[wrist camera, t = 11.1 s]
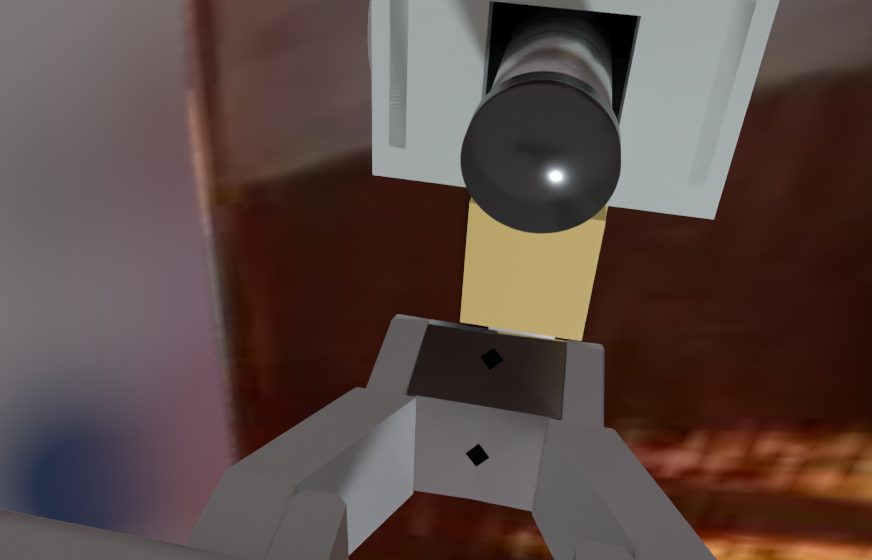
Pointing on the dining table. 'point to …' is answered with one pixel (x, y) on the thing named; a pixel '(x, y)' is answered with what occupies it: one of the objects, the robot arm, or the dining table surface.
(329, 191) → the dining table surface
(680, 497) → the dining table surface
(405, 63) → the cabinet
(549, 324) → the rail carriage
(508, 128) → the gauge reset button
